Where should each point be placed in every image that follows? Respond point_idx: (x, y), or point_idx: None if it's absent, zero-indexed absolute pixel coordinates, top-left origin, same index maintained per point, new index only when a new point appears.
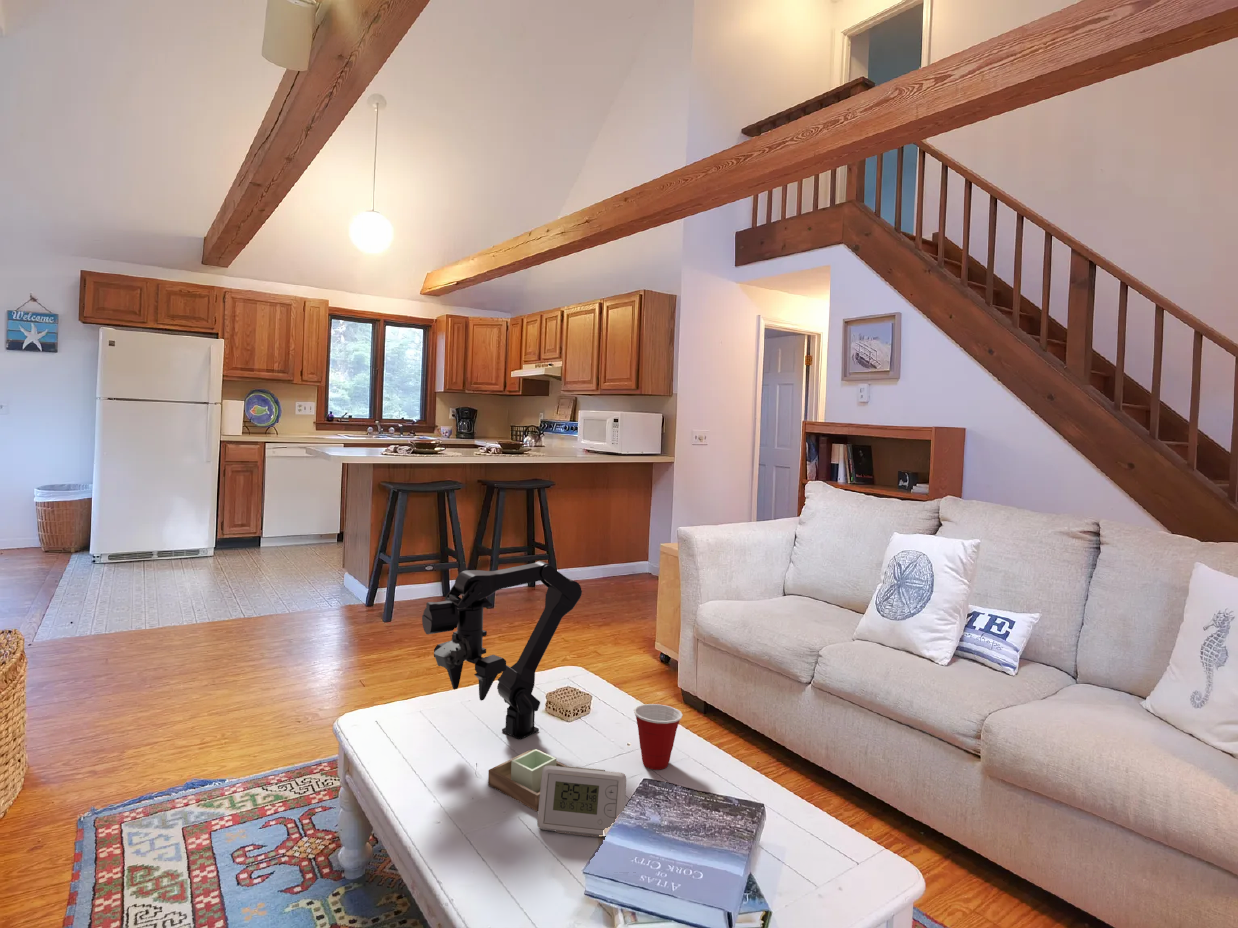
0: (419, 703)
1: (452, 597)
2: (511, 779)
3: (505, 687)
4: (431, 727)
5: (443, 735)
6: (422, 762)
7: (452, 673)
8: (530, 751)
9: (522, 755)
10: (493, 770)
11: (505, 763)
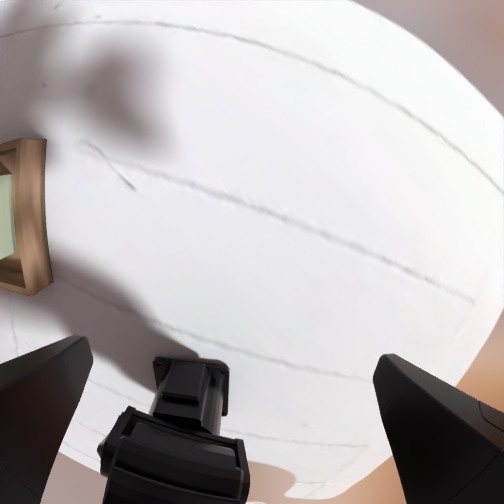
0: (485, 321)
1: None
2: (3, 175)
3: (168, 477)
4: (413, 261)
5: (354, 248)
6: (269, 81)
7: (456, 435)
8: (26, 285)
9: (20, 256)
10: (14, 147)
11: (15, 194)
